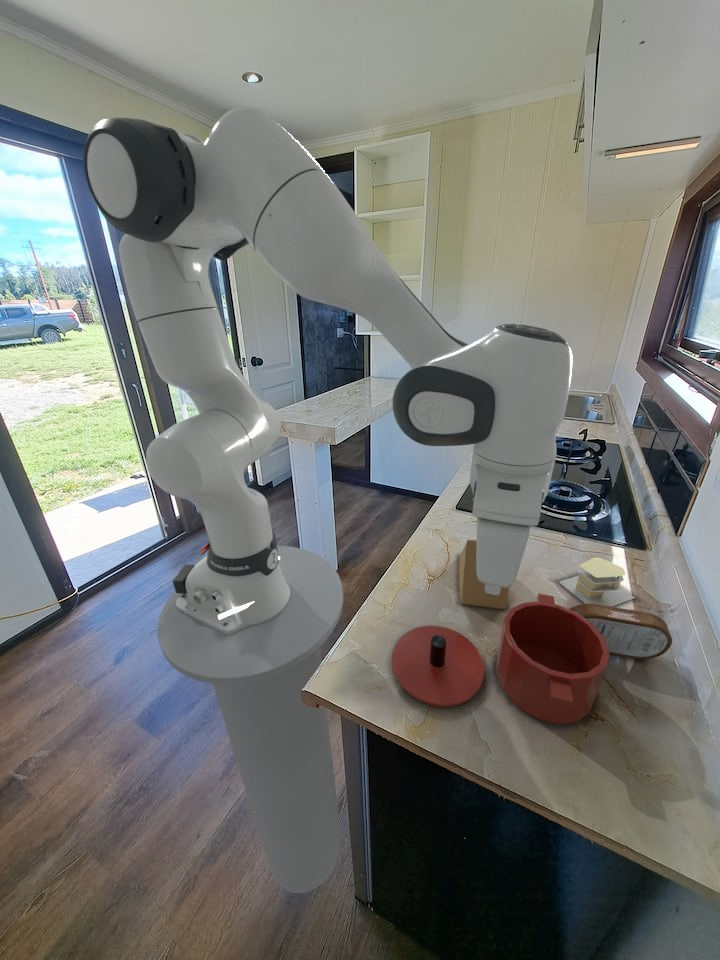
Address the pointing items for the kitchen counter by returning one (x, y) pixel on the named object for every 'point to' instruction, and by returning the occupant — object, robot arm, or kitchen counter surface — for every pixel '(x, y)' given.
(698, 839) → the kitchen counter surface
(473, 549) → the sandwich container
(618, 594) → the stacked layers on plate
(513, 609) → the pot
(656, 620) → the tin
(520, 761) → the kitchen counter surface
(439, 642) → the lid
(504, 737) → the kitchen counter surface
